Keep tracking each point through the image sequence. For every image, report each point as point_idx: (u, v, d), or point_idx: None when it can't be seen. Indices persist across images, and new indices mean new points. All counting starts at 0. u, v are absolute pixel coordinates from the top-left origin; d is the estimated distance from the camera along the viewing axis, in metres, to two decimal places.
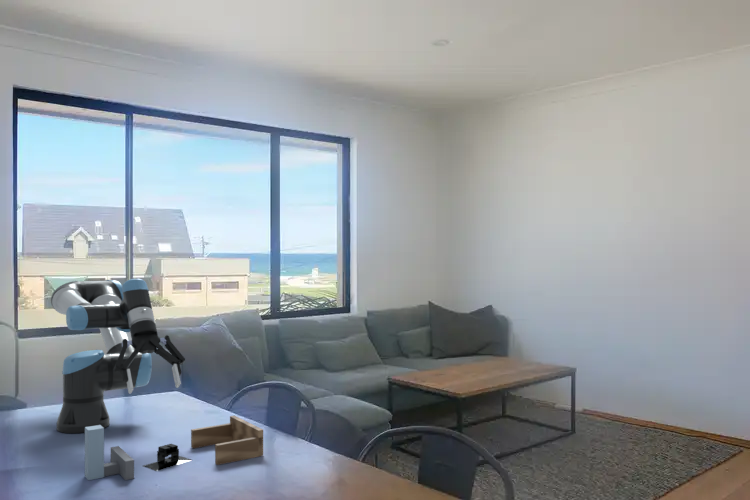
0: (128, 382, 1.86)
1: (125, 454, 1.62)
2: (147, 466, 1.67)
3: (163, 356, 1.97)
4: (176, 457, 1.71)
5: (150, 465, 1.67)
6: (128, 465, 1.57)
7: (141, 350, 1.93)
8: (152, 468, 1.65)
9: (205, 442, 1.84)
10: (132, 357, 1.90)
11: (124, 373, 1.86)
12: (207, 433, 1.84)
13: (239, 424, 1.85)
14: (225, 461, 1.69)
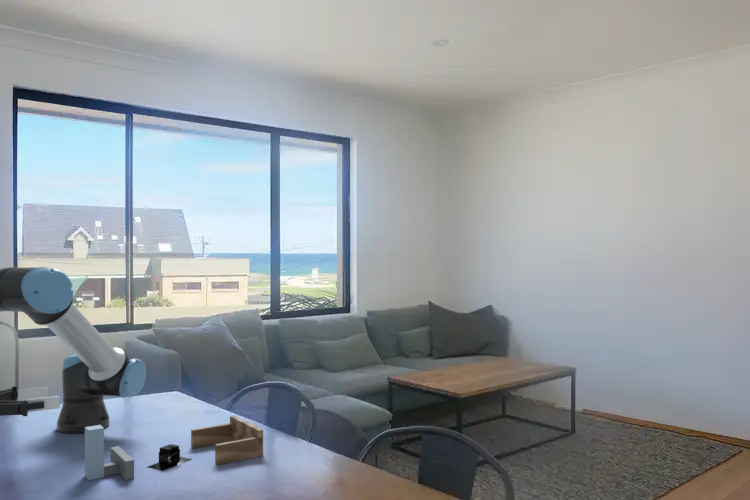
0: None
1: (125, 454, 1.62)
2: (150, 467, 1.66)
3: None
4: (177, 457, 1.71)
5: (152, 466, 1.66)
6: (128, 465, 1.57)
7: None
8: (156, 469, 1.65)
9: (205, 442, 1.84)
10: None
11: None
12: (207, 433, 1.84)
13: (239, 424, 1.85)
14: (225, 461, 1.69)
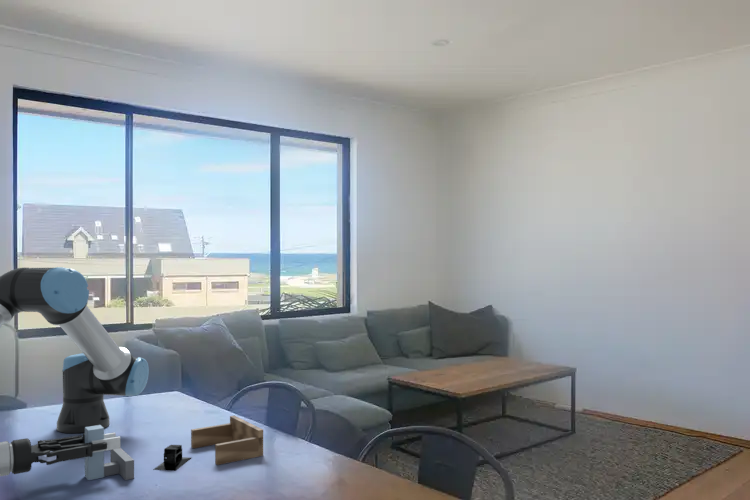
0: None
1: (125, 454, 1.62)
2: (158, 469, 1.64)
3: None
4: (179, 457, 1.71)
5: (160, 468, 1.65)
6: (128, 465, 1.57)
7: None
8: (167, 470, 1.64)
9: (205, 442, 1.84)
10: None
11: None
12: (207, 433, 1.84)
13: (239, 424, 1.85)
14: (225, 461, 1.69)
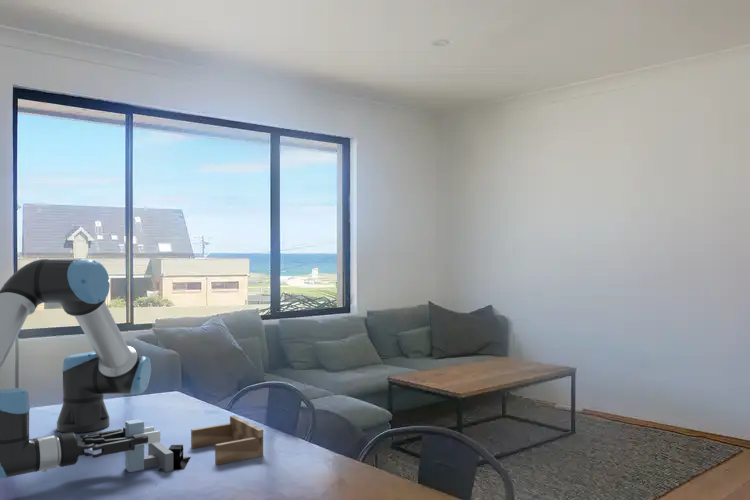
0: None
1: (164, 447, 1.68)
2: None
3: None
4: (180, 456, 1.71)
5: None
6: (168, 457, 1.63)
7: None
8: (175, 469, 1.64)
9: (205, 442, 1.84)
10: None
11: None
12: (207, 433, 1.84)
13: (239, 424, 1.85)
14: (225, 461, 1.69)
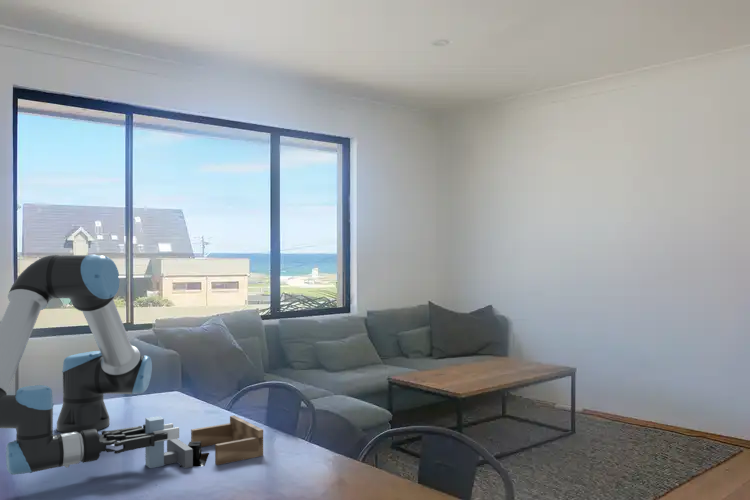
0: None
1: (183, 444, 1.71)
2: None
3: None
4: None
5: None
6: (187, 454, 1.66)
7: None
8: (195, 465, 1.67)
9: (205, 442, 1.84)
10: None
11: None
12: (207, 433, 1.84)
13: (239, 424, 1.85)
14: (225, 461, 1.69)
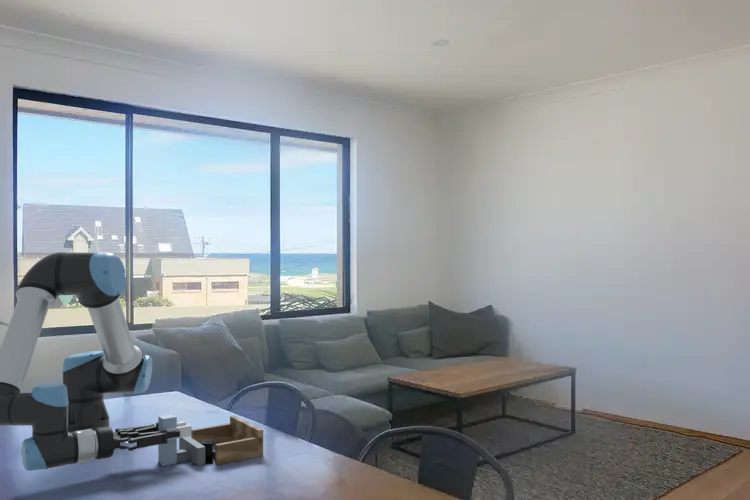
0: None
1: (195, 442, 1.73)
2: None
3: None
4: None
5: None
6: (200, 451, 1.68)
7: None
8: (208, 463, 1.69)
9: None
10: None
11: None
12: (207, 433, 1.84)
13: (239, 424, 1.85)
14: (225, 461, 1.69)
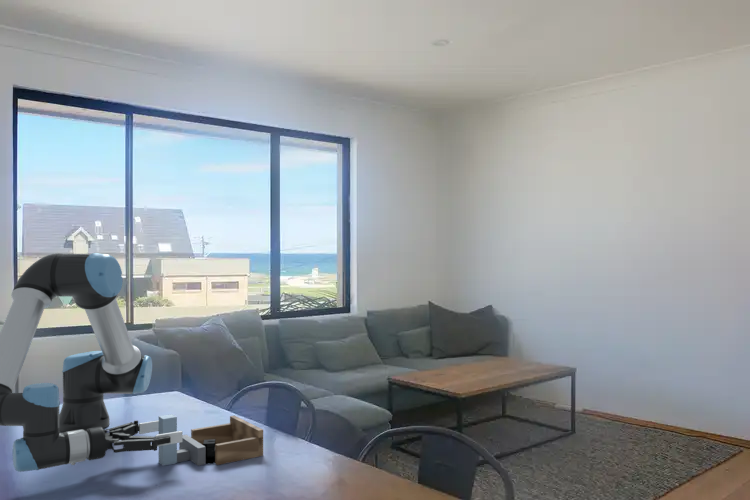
0: None
1: (195, 442, 1.73)
2: None
3: None
4: (213, 451, 1.76)
5: None
6: (200, 451, 1.68)
7: None
8: (211, 463, 1.69)
9: None
10: None
11: None
12: (207, 433, 1.84)
13: (239, 424, 1.85)
14: (225, 461, 1.69)
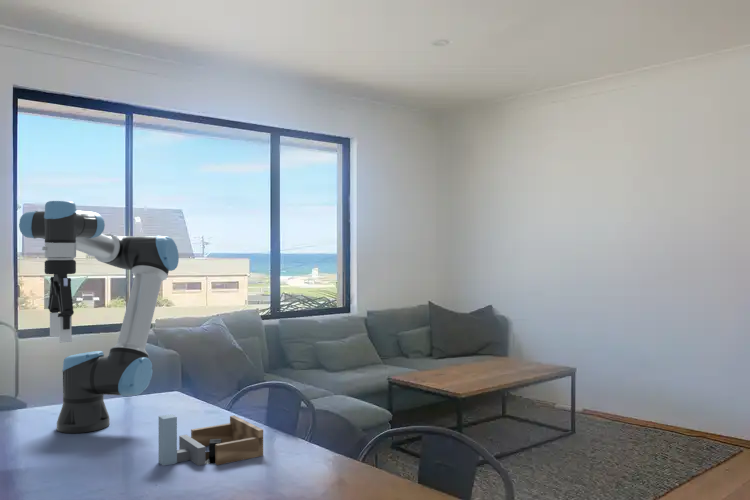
0: None
1: (195, 442, 1.73)
2: (208, 463, 1.69)
3: None
4: None
5: (209, 461, 1.70)
6: (200, 451, 1.68)
7: None
8: None
9: (205, 442, 1.84)
10: (51, 300, 1.77)
11: None
12: (207, 433, 1.84)
13: (239, 424, 1.85)
14: (225, 461, 1.69)
